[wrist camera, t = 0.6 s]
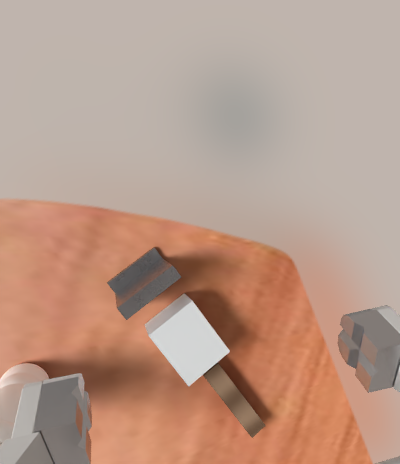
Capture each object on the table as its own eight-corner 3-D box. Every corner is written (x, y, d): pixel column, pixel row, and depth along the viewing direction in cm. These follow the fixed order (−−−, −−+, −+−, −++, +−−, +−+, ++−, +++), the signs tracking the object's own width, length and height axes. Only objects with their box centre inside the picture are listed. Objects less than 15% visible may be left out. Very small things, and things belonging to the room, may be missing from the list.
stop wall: (168, 266, 61) (181, 277, 51) (122, 301, 60) (126, 320, 49) (153, 247, 61) (163, 253, 50) (107, 282, 59) (107, 296, 48)
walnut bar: (258, 416, 66) (265, 425, 64) (245, 428, 66) (251, 437, 63) (213, 356, 64) (218, 363, 61) (199, 368, 64) (203, 375, 61)
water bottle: (45, 355, 57) (0, 456, 33) (55, 400, 58) (18, 530, 34) (-6, 369, 56) (-92, 484, 31) (5, 414, 56) (-71, 562, 32)
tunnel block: (218, 339, 64) (230, 351, 58) (181, 370, 62) (188, 386, 56) (184, 293, 62) (192, 300, 56) (144, 324, 61) (148, 335, 55)
